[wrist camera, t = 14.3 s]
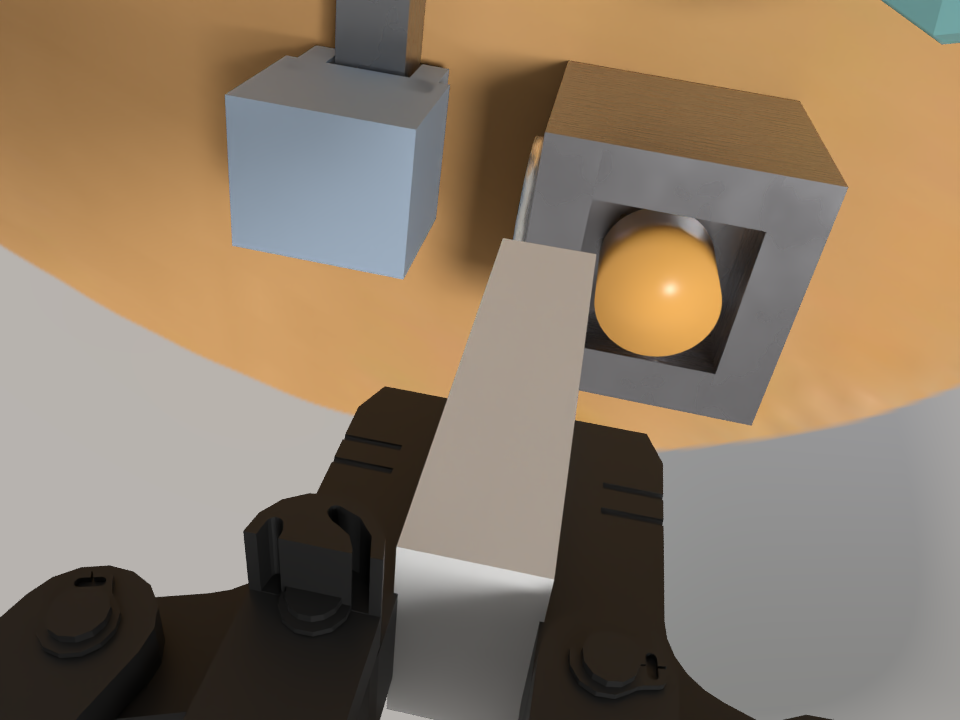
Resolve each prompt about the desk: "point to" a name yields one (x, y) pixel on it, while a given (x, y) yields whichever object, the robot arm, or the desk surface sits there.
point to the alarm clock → (932, 17)
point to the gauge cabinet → (692, 193)
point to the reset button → (657, 283)
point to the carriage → (336, 161)
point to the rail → (380, 35)
